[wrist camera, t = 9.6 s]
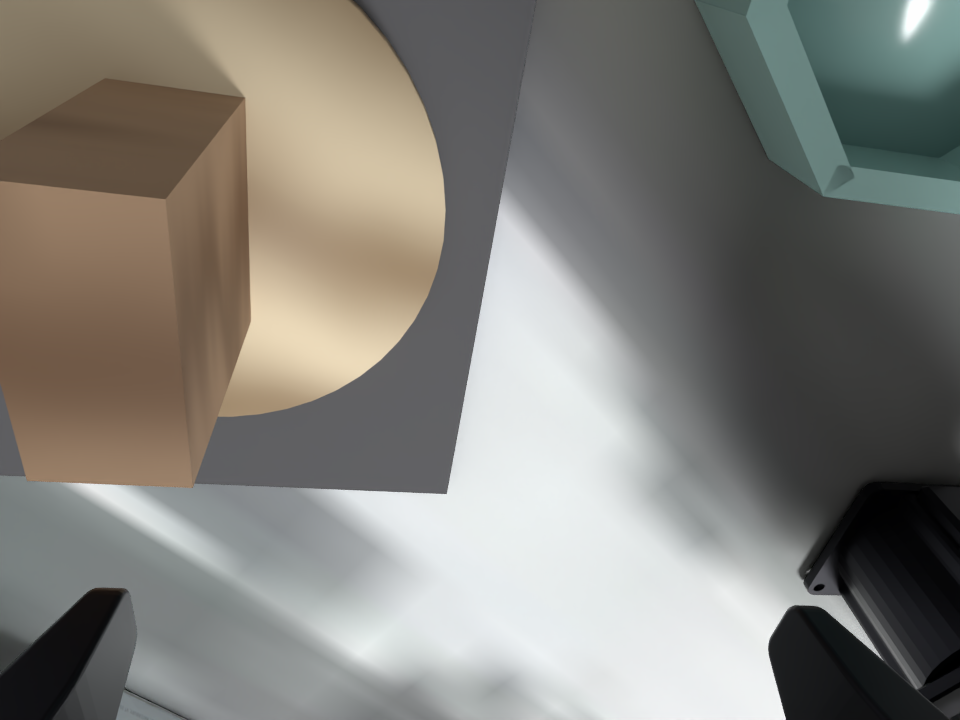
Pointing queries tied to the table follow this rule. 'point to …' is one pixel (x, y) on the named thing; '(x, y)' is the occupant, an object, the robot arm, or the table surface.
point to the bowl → (851, 93)
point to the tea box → (142, 709)
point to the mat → (452, 297)
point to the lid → (199, 221)
